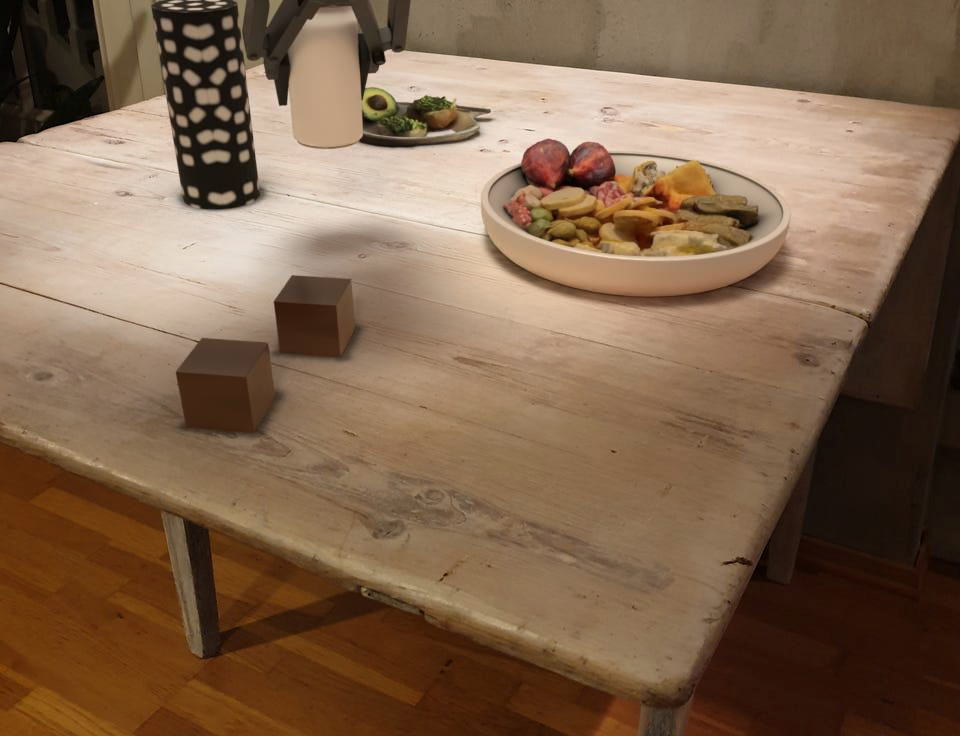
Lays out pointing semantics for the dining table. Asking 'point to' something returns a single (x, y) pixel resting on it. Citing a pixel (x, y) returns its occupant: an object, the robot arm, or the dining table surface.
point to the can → (326, 80)
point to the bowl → (632, 220)
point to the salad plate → (414, 119)
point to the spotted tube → (207, 101)
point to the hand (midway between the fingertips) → (318, 89)
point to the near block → (226, 385)
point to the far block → (315, 316)
